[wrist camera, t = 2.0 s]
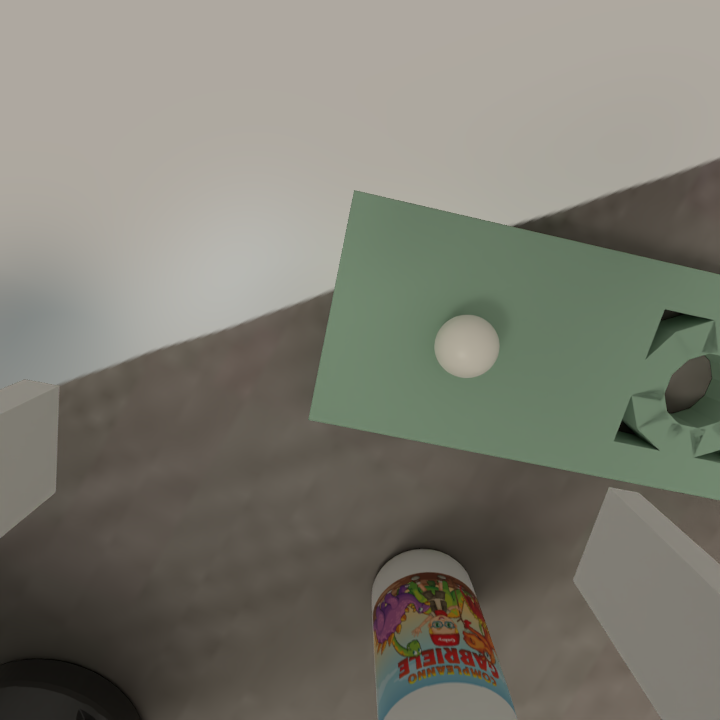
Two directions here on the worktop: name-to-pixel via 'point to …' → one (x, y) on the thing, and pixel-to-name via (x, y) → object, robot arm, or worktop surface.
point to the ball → (466, 346)
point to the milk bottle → (433, 644)
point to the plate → (521, 347)
